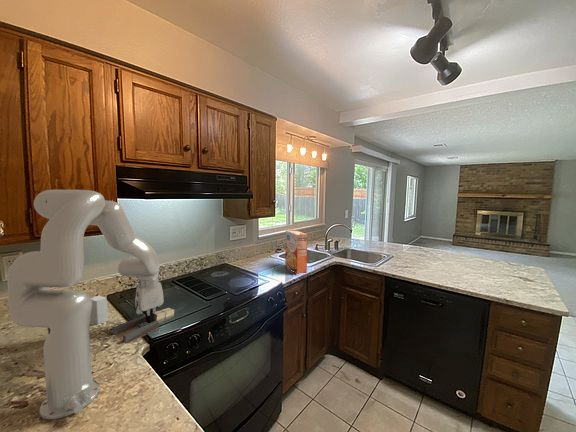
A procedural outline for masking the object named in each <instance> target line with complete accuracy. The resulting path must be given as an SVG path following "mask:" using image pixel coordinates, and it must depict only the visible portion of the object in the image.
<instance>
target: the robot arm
mask: <svg viewBox="0 0 576 432" xmlns="http://www.w3.org/2000/svg"><path fill="white" fill-rule="evenodd" d="M33 208H34V211H36V213H38V215H40V216H41V217H43V218H45V219H48V221H47V222H46V223H45V225H44V226H43V229H42V231H41V234H40V250H38V251H37V250H36V251H29V252H25V253H23V254H21V255H19V256H18V257H17V258H15V260H14V261H12V263H11V264H10V266H9V269H8V272H7V298H8V312H9V316H10V320H11V321H12V322H13V323H14V324H15V325H17V326H20V327H25V328H26V327H27V328H45V329H46V328H47V329H48V328H50V330H51V331H50V334H49V333H48V336H47V338H46V339H45V340H44V343H43V346H42V347H43V348H42V349H43V350H42V352H43V354H42V355H43V363H44V375H45V376H44V377H45V386H46V398H45V399H44V400H43V402H42V403H41V405H40V406H39V416H40V417H41V418H42V419H44V420H58V419H63V418H66V417H68V416H70V415H73V414H78V413H80V412H82V409H84V408H86V406H88V405H90V403H91V402H92V401H94V399H96V397H97V396H98V394H99V393H100V383H99V382H97V380H94V379H93V374H92V373H93V371H92V356H91V355H92V354H91V340H90V316H91V311H92V300H91V298H92V297H91V296H90V295H89V294H87V293H85V292H83V291H79V290H72V289H70V290H67V289H65V290H63V289H54V290H53V289H50V288H68V287H72V286H73V287H74V286H75V285H77V284H78V283H79V282H81V280H82V279H83V276H84V274H85V273H84V271H85V257H84V256H85V254H84V240H85V239H84V238H85V236H84V235H85V232H86V230H87V228H88V227H89V226H97V227H98V228H99V230H100V232H101V234H102V235H103V237H104V239H105V240H106V242H107V244H108V245H109V246H110V247H111V248H112V249H114V250H117V251H120V252H122V253H125V254H128V255H131V256H130V257H129V256H128V257H127V258H124V259H123V260H121V261H120V262H119V264H118V267H117V269H118V271H117V272H118V273H119V274H120V275H121V276H123V277H134V278H137V281H136V282H135V284H134V285H135V286H136V291H135V300H134V301H135V309H136V310H135V313H136V314H137V315H142V314H143V315H145V316H146V322H147V323H151V322H154V319H155V318H154V313H155V312H157V311H158V308H159V307H162V306H163V304H164V302H165V301H164V291H163V287H162V286H163V285H162V283H161V281H159V272H160V268H161V267H160V266H161V265H160V259H159V257H158V254H157V252H156V250H155V248H153V247H152V246H151V245H150V244H149V243H148V242H146V240H144V239H143V238H141V237H140V236H138V235H136V234H135V232H134V230H133V228H132V226H131V224H130V221H129V220H128V216H127V215H126V213H125V211H124V209H123V207H122V206H121V205H120V204H119V203H118V202H116V201H113V200H106V199H105V197H104V195H103V194H101V193H100V192H97V191H94V190H90V189H89V190H88V189H46V190H43V191H41V192H40V193H38V194H37V195H36V197H34V200H33Z"/></svg>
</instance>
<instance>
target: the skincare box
mask: <svg viewBox="0 0 576 432" xmlns="http://www.w3.org/2000/svg"><path fill="white" fill-rule="evenodd" d="M90 298H91V300H92V311H91V316H90V323H89V325H91V326H94V325H100V324H102V323H105V322H107V321H109V319H108V317H109V316H108V302H107V301H108V299H107V297H106V296H101V295H96V296H93V297H90Z"/></svg>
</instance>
